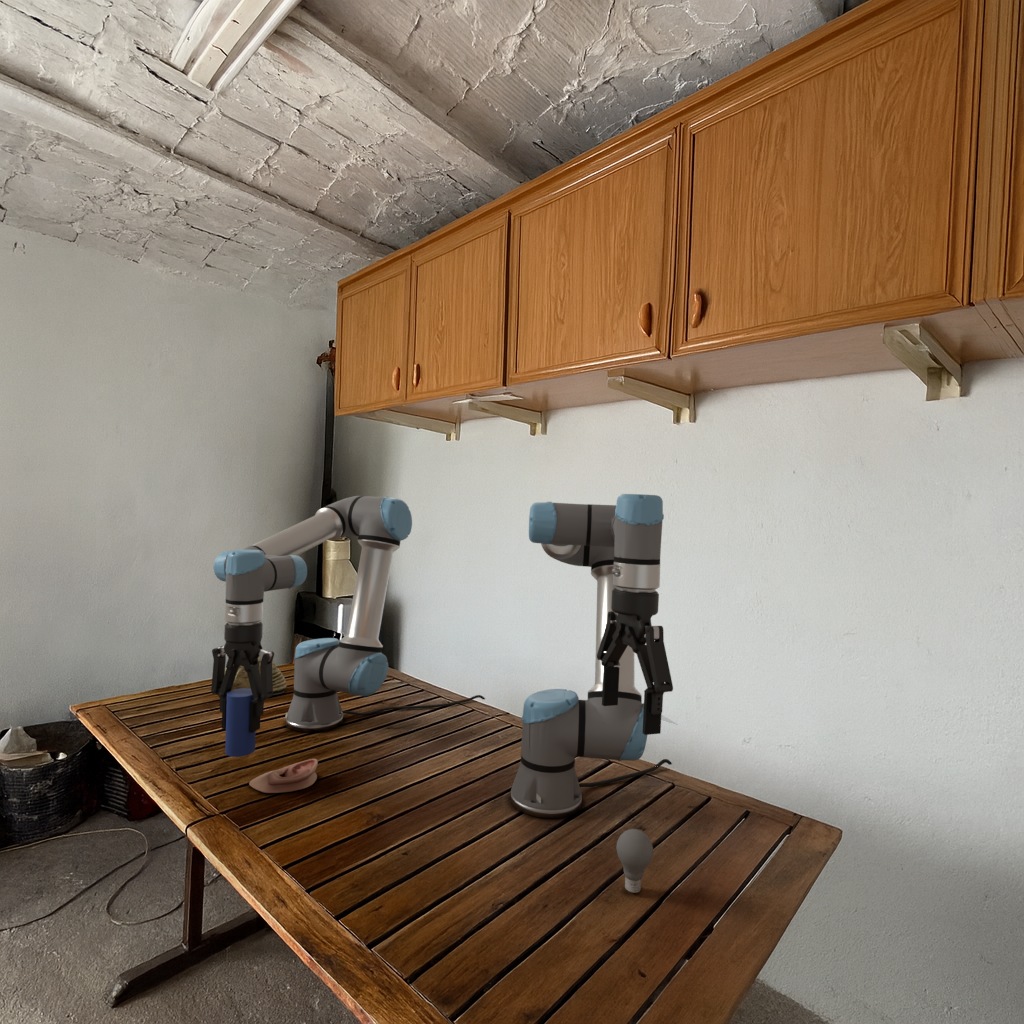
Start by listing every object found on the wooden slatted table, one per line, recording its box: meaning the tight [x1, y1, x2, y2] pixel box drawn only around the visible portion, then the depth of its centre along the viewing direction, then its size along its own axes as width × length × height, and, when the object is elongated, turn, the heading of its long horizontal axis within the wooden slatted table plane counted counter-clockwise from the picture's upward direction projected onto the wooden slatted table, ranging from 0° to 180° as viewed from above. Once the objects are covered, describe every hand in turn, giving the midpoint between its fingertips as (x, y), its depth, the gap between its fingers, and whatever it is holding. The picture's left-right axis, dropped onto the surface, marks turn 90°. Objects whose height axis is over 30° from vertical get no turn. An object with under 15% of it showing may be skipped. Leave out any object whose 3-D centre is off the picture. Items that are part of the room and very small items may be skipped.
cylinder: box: [224, 688, 257, 758], centre depth 136 cm, size 6×6×13 cm
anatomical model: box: [248, 758, 319, 794], centre depth 139 cm, size 13×4×12 cm
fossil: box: [225, 656, 288, 696], centre depth 198 cm, size 9×18×15 cm, turn 132°
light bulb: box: [615, 828, 654, 894], centre depth 106 cm, size 6×6×10 cm
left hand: (240, 728), depth 137 cm, fingers closed on cylinder, 6 cm apart
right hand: (629, 718), depth 103 cm, fingers open, 13 cm apart
